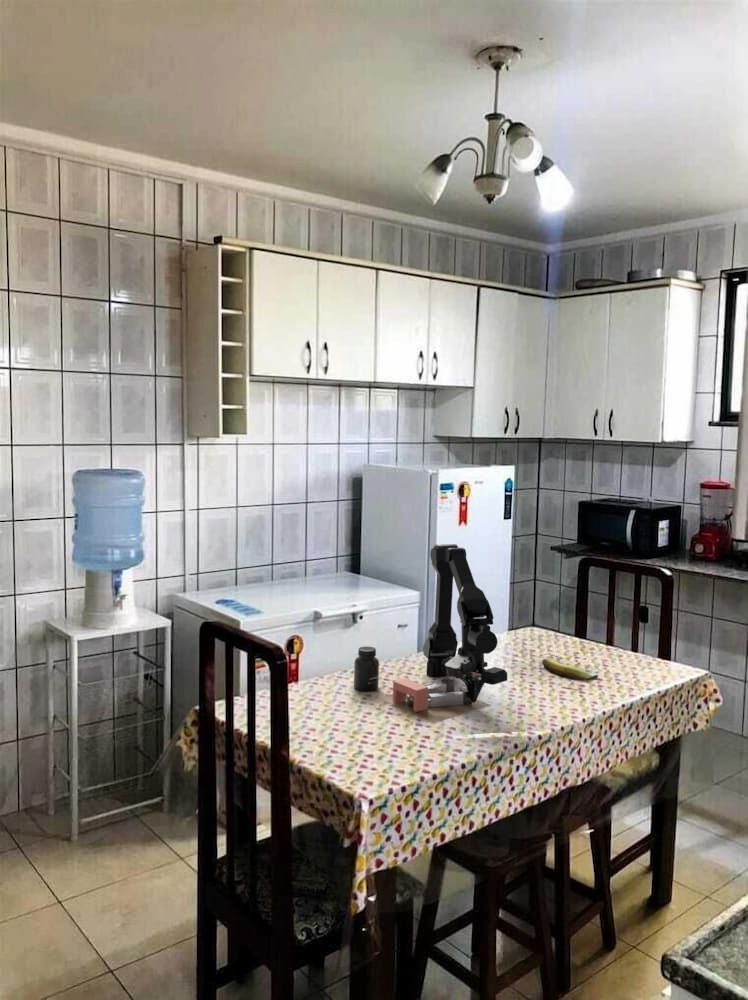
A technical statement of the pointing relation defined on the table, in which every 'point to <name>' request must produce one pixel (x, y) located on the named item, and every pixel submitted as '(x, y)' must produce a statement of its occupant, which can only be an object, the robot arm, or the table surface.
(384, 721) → the table surface
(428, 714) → the board
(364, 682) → the supplement bottle
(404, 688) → the pink u-shaped block
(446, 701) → the tongs jaw
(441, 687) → the tongs fixed
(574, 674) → the green-yellow banana
